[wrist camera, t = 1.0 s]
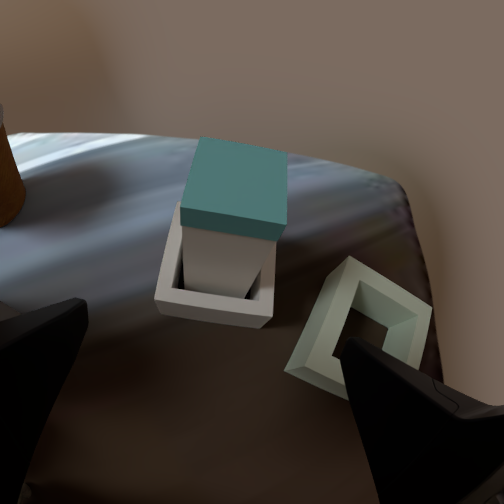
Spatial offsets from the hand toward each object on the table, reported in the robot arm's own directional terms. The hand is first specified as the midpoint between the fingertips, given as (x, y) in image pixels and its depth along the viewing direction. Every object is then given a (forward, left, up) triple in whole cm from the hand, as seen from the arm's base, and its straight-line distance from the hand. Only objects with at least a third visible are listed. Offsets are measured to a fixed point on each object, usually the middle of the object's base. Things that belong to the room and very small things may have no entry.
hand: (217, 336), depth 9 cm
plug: (+6, +4, -13) cm, 15 cm away
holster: (+6, +4, -13) cm, 15 cm away
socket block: (+9, -9, -13) cm, 19 cm away
